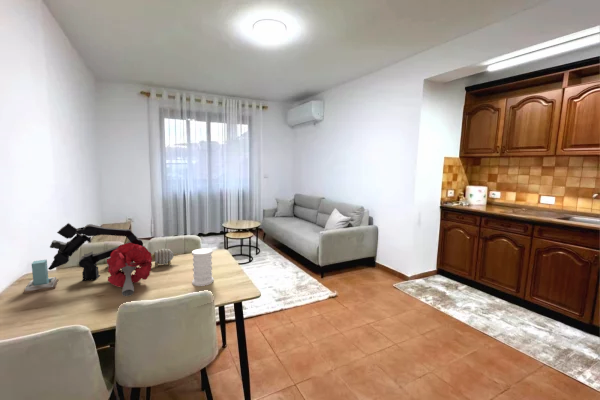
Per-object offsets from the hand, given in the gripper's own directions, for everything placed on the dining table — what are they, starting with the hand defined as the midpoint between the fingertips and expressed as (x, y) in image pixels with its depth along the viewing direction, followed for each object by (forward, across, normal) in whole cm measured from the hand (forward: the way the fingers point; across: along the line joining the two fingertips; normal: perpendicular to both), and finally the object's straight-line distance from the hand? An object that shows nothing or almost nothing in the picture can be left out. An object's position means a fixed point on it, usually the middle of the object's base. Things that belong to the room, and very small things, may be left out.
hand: (50, 266), depth 149 cm
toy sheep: (-31, -3, +46) cm, 56 cm away
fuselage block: (+10, 0, +4) cm, 10 cm away
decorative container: (-42, +37, +57) cm, 80 cm away
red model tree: (-17, +23, +32) cm, 43 cm away
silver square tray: (+10, 0, +4) cm, 11 cm away
